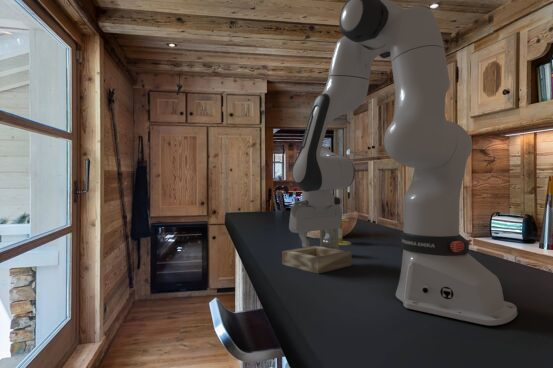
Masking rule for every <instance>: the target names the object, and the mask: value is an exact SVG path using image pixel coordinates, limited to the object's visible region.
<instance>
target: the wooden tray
mask: <svg viewBox="0 0 553 368" xmlns="http://www.w3.org/2000/svg"><path fill="white" fill-rule="evenodd" d="M352 254H353V253H352V252H351V251H347V250H343V249H342V250H341V249H339V250H336V249H331V248H325V247H320V245H319V246H318V245H313V246H312V245H311V246H309V247H301V248H294V249H288V250H283V251H281V265H284V266H287V267H291V268H295V269H298V270H299V269H300V270H302V271H306V272H309V273H313V274H323V273H327V272H330V271H335V270H339V269H343V268H346V267H347V268H348V267H350V266H352V263H353V261H352V257H353V255H352Z"/></svg>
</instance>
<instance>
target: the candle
mask: <svg viewBox="0 0 553 368" xmlns="http://www.w3.org/2000/svg"><path fill="white" fill-rule="evenodd" d="M336 196H337V197H339V198H341V199H342V200H343V189H336ZM339 206H340V207H341V209H342V208H343V203H342V204H341V205H339ZM342 210H343V209H342ZM347 222H350V219H347V218H346V219H345V218H342V224H341V226H340V228H338V238H339V246H349V245H352V242H350V241H345V240H343V223H347Z"/></svg>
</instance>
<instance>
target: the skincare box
mask: <svg viewBox="0 0 553 368" xmlns="http://www.w3.org/2000/svg"><path fill="white" fill-rule="evenodd" d="M325 235H326V232H325V230H319V243H320V245H319V246H320V247H325V248H331V249H336V250H340V247H339V246H340V245H339V238H338V228H334V229H333V234H332V236H331V238H330V243H328V244H326V243H323V238H324V237H325Z"/></svg>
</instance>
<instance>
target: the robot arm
mask: <svg viewBox="0 0 553 368" xmlns="http://www.w3.org/2000/svg"><path fill="white" fill-rule="evenodd" d="M343 4H344V5H343V7H342V8H341V11H340V14H339V20H338V23H339V25H338V26H339V29H340V32H341V34H343V36H342V37H341V38H339V40H337V42H336V44H335V47H334V49H333V53H332V56H331V59H330V64H329V65H330V66H329V71H328V76H327V77H328V78H327V81H326V85H325V87H324V89H323V91H322V93H321V94H320V95H318V96H317V97H315V99H314V101H313V104H312V106H311V109H310V113H309V116H308V119H307V122H306V127H305V131H304V134H303V137H302V141H301V145H300V148H299V152H298V154H297V156H296V159H295V161H294V163H293V166H292V169H291V176H292V180H293V182H294V184H295V185H296V186H297V187H298V188H299V189H300V190H301V193H302V194H301V200H295V201H294V202H293V204H292V205H291V206H290V207H291V208H290V215H289V220H288V221H289V223H288V229H289V231H290V233H295V234H298V236H299V238H300V241H301V246H302V248H305V247H311V246H310V240H308V239H307V236H308V232H309V233H310V232H317V231H320V230H325V232H326V235H325V237H324V238H323V243H326V244H328V243H330V238H331V236H332V234H333V229H334V228H340V226H341V224H342V225H343V222H342V219H343V212H342V211H343V209H341V207H340V206H339V205H341V204H342V205H343V198H342V199H341V198H339V197H337V195H334V194H333V193H332V190H337V189H342V190H344V189H348V188H350V186H351V185H353V184H352V183H353V182H354V180H355V175H356V169H355V165H354V163H353V161H352V160H351V159H350V158H349V157H346V156H342V155H339V154H336V153H334V152H332V151H331V150H330V148H329V147H328V146H324V145H323V143H324V140H325V136H326V132H327V129H328V127H329V125H330V124H331V122H332V121H333V120H334V119H336V118H337V117H340V116H343V115H346V114H348V113H351V112H353V111H355V110H357V109H358V108H359V107H360V106H362V105H363V103H364V102H365V100H366V98H367V96H368V91H369V87H370V86H369V85H370V78H371V77H370V76H371V69H372V66H373V62H374V61H375V59H376V58H377V57H378V56H379V57H380V58H381V59H386V58H387V59H388V58H389V57H390V63H391V68H392V69H391V70H392V76H393V78H392V79H393V84H394V85H393V86H394V92H395V93H394V94H395V95H394V96H395V101H394V102H395V103H394V112H393V117H392V122H390V124H389V126H388V127H387V128H386V131H385V133H384V139H383V145H384V149H385V151H386V154H387V155H388V157H390V159H392V160H393V161H395V162H397V163H398V164H401V165H403V166H404V167H407V168H413V175H412V178H411V181H410V185H409V187H408V189H407V191H406V192H405V194H404V196H403V200H402V201H403V203H402V204H403V205H402V206H403V209H402V210H403V214H402V215H403V216H402V218H403V220H402V221H403V227H402V228H403V231H402V232H401V234H400V235H401V236H400V237H401V238H400V252H401V256H402V259H401V268H400V274H399V280H398V284H397V288H396V291H395V297H396V298H397V299H398V300H399V301H401V302H402V304H403V306H404V307H405V308H406V309H410V310H414V311H419V312H424V313H428V314H433V315H437V316H440V317H441V316H442V317H446V318H451V319H456V320H459V321H465V322H469V323H474V324H479V325H484V326H499V325H504V324H507V323H509V322H511V321H513V320H514V319H515V318H516V317H517V315H518V307H517V306H516V305H515V304H514V303H512V302H509V301H505V300H504V293H503V288H502V285H501V281H500V280H499V278H498V277H497V275H496V274H494V273H493V272H491V271H490V270H489V269H488V268H487V267H485V266H484V265H483V264H481V263H480V262H479V261H478V260H477V259H476V258H475V257H473V256H472V255H470V246H471V245H472V243H471V242H472V241H473V240H472V239H466V238H465V237H463V235H461V234H460V199H461V191H462V185H463V180H464V175H465V173H466V168H467V167H466V166H467V161H468V159H469V158H470V156H471V154H472V151H473V141H472V137H471V136H470V134H469V133H468V132H467V130H466V129H465V128H463V127H462V126H461V125H460V124H459V123H456V122H454V121H449V120H447V118H446V110H445V108H446V97H447V93H448V91H449V89H450V87H451V82H450V76H449V74H450V73H449V69H448V63H447V56H446V50H445V44H444V41H443V40H444V39H443V37H442V31H441V30H440V29H441V28H440V27H439V23H438V21H437V18H436V16H435V14H434V12H433V11H432V10H431V9H429V8H428V7H426V6H421V5H420V6H419V5H418V6H412V7H408V8H404V7H403V6H401V5H399V4H397V3H395V2H394V1H392V0H346V2H345V3H343Z"/></svg>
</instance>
